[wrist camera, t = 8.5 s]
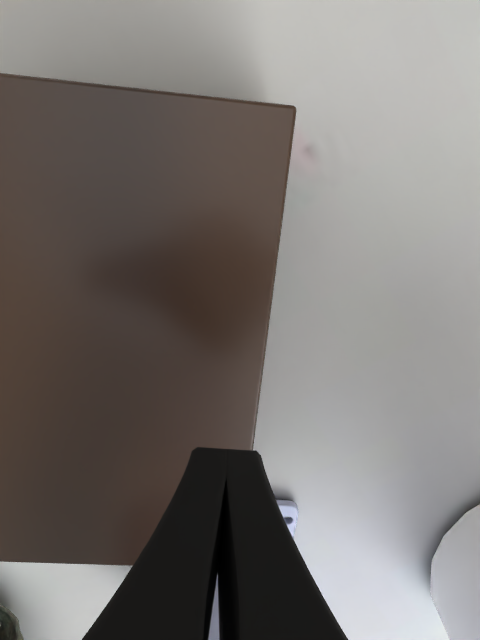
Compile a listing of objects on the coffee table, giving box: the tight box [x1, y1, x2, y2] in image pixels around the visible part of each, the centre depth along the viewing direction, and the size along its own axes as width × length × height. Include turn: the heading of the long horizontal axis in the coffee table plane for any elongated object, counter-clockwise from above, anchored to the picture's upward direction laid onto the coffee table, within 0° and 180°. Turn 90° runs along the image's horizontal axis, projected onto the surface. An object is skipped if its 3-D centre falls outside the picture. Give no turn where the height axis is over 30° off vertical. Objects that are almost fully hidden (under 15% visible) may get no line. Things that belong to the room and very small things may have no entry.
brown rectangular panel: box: [0, 73, 296, 566], centre depth 13 cm, size 10×16×1 cm, turn 175°
